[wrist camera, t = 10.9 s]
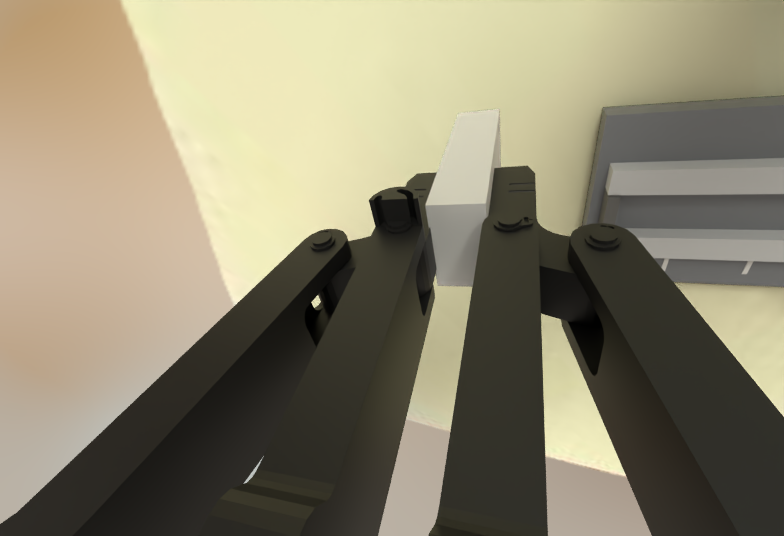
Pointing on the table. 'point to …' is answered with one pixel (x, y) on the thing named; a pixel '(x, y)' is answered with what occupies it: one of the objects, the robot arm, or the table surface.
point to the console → (696, 186)
